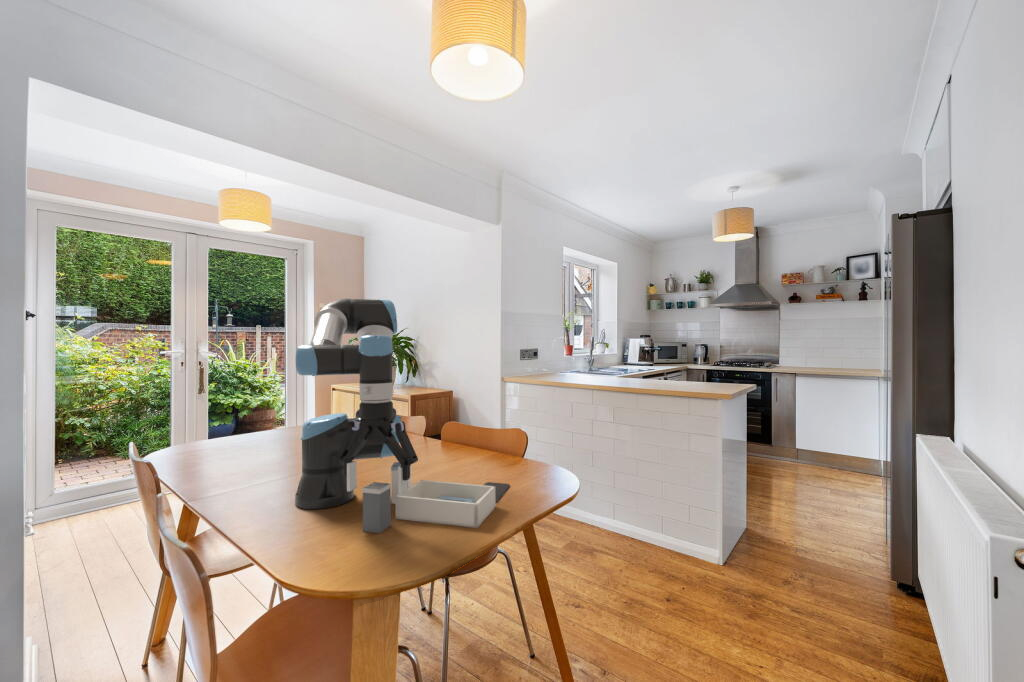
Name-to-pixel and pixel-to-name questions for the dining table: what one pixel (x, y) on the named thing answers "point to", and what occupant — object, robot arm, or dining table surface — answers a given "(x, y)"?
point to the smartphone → (498, 489)
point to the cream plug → (395, 480)
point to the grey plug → (376, 507)
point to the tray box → (446, 503)
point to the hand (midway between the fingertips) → (376, 492)
